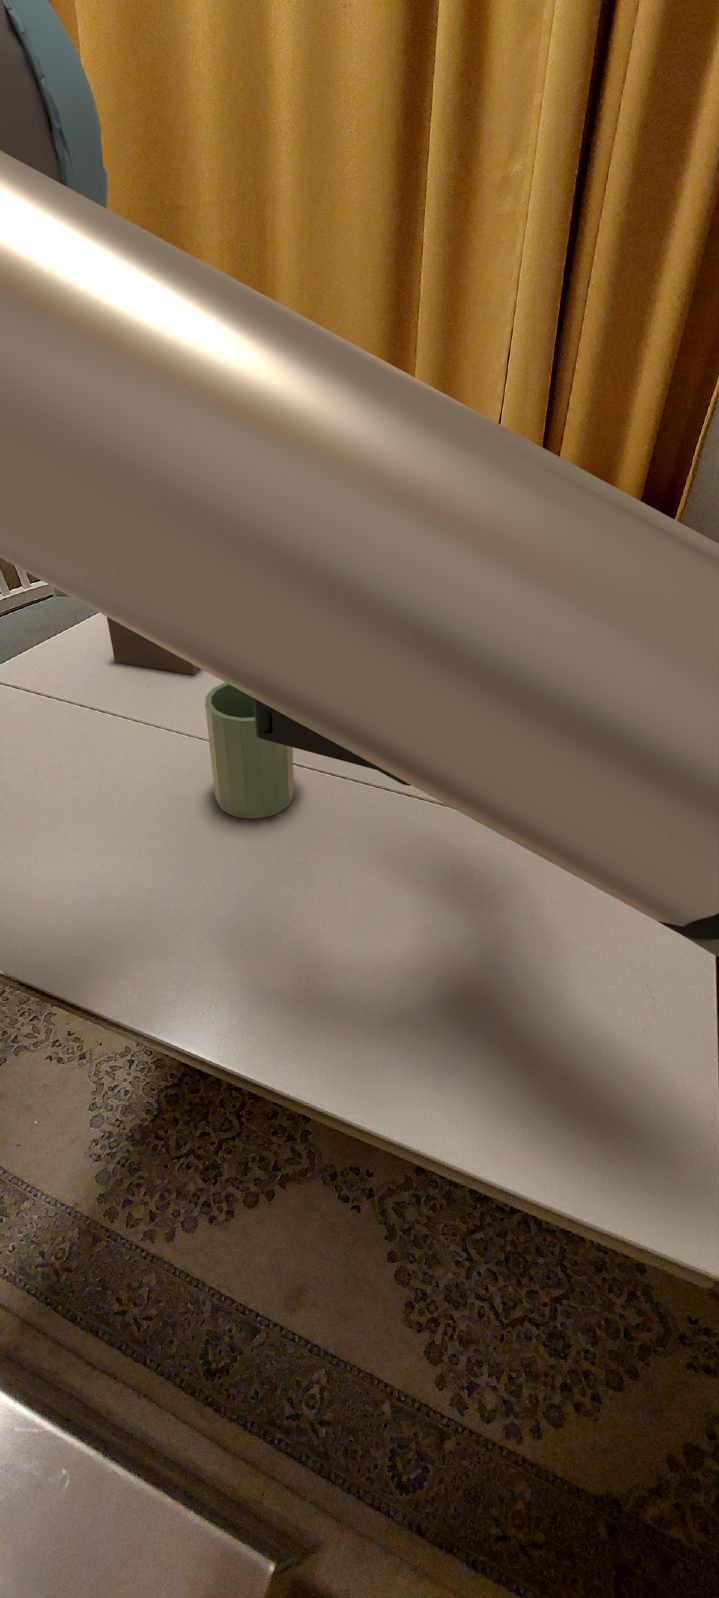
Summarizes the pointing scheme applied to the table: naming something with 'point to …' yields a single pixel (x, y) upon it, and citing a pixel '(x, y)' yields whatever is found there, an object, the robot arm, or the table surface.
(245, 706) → the cup
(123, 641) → the block
